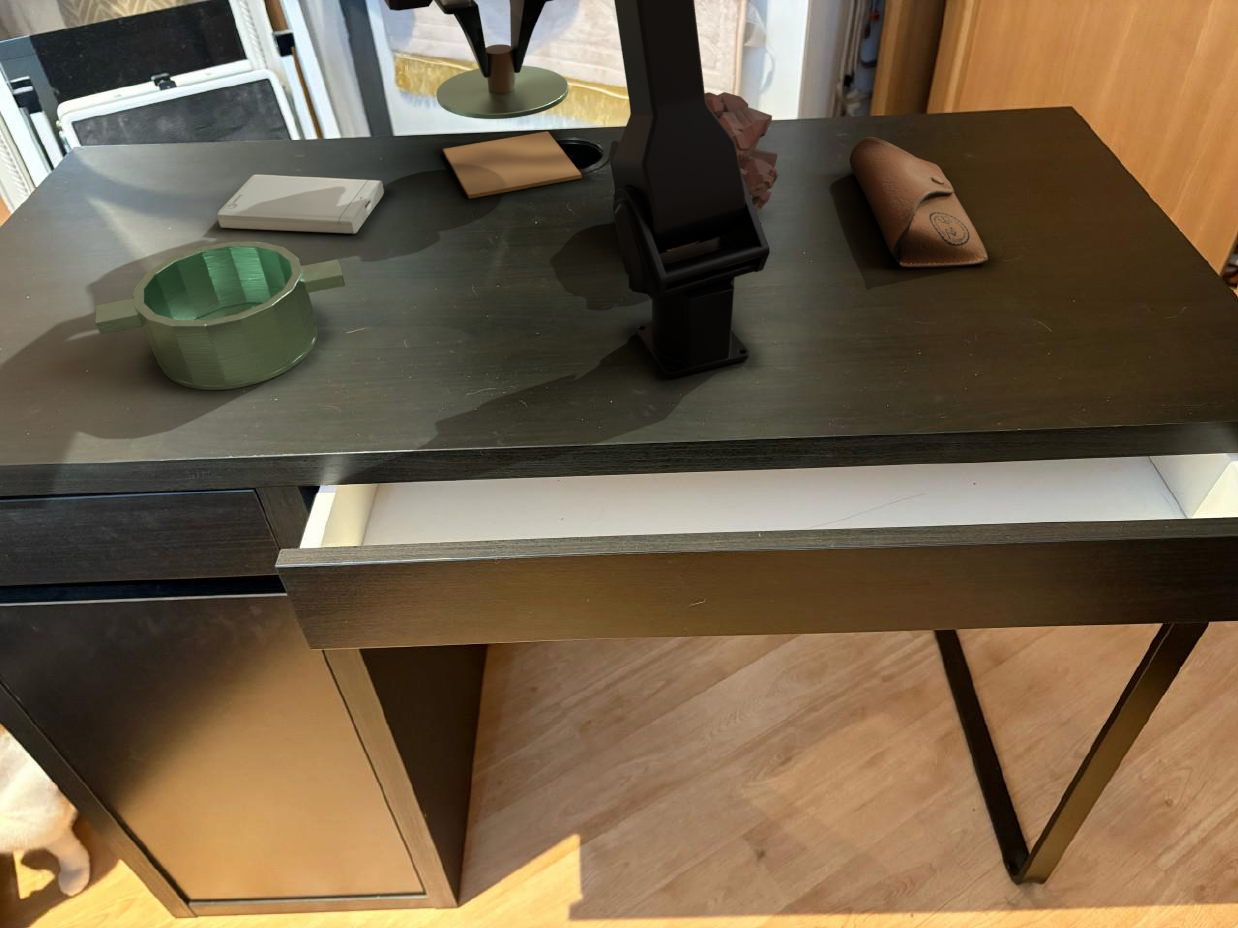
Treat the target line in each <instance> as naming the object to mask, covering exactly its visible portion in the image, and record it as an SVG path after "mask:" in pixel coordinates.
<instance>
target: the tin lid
mask: <svg viewBox="0 0 1238 928" xmlns="http://www.w3.org/2000/svg"><path fill="white" fill-rule="evenodd" d="M486 52H487V57H488V65H489V77H488V78H484V76H483V75H482V73H481V71H480V68H479V67H478V68H475V69H470V70H466V71H464V72H461V73H458V74H455V75H454V76H451V77H449V78H448V79H445V80H444V81H443V82H442V83H441V84H440V85H439V86H438V87H437V89H436V96H435V97H436V101H437V103H438V105H439V106H440V107H441V108H442V109H444V110H445V111H447V112H448V113H452V114H454V115H457V116H460V117H464V118H465V117H466V118H471V119H480V120H504V119H505V120H506V119H515V118H522V117H528V116H532V115H536V114H539V113H542V112H545V111H548V110H550V109H552V108H554V107H556V106H558V105H560V104H561V103H562V102H563V101H565V99H566V98H567V97H568V94H569V90H570V89H569V82H568V80H567V78H565V77H564V75H561V74H560V73H558V72H556V71H553V70H550V69H548V68H543V67H539V66H533V65H532V66H531V65H522V68H521V71H520V73H515V66H514V55H513V48H512V47H511V45H509V44H503V43H501V44H500V43H499V44H492V45H488V46H486Z"/></svg>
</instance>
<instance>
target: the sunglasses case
mask: <svg viewBox="0 0 1238 928" xmlns="http://www.w3.org/2000/svg"><path fill="white" fill-rule="evenodd" d="M849 165H850V169H851V171H852V173H853V175H854V177H855V178H856V180H857V182H858V184H859V186H860V188H861V189H862V191H863V193H864V194H863V195H864V196H865V198H866V200H867V203H868V205H869V207H870V209H871V211H872V214H873V216H874V218H875V220H876V222H877V224H878V227H879V229H880V232H881V235H882V236H883V239H884V242H885V244H886V246H887V248H888V250H889V252H890V254H891V255H892V257H893V258H894V259H895V261H896V262H897V263H898V265H899V266H901V267H902V268H908V269H909V268H917V269H940V268H943V269H944V268H955V267H956V268H957V267H964V266H973V265H979V264H983V263H985V262H987V261H988V259H989V257H988V254H987V250H986V248H985V245H984V244H983V242H982V240H981V237H980V236H979V234H978V232H977V230H976V227H975V225H973V223H972V221H971V219H970V217H969V216H968V214H967V212H966V210H965V209H964V207H963V206H962V204H961V201H960V200H959V199H958V197H957V196H956V193H955V189H954V188H953V186H952V183H951V182H950V181H949V180H948V178H946V176H945V174H944V172H943V171H942V169H941V168H940V167H939V166H938V164H936V163H934V162H930V161H927V160H924V159H922V158H919V157H916V156H915V155H913V154H912V153H909V152H908V151H906V150H904V149H902V148H900V147H898V146H896V145H894V144H892V143H889V142H888V141H886V140H883V139H881V138H876V137H873V136H869V137H868V136H867V137H865V138H863V139H861V140H860V141H859V142H858V143H857V144H856V145H855V146H854V147H853V149H852V150H851V153H850V157H849Z"/></svg>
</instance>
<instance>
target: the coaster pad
mask: <svg viewBox="0 0 1238 928" xmlns="http://www.w3.org/2000/svg"><path fill="white" fill-rule="evenodd" d="M442 152H443V155H444V156H445V158H446V161H448V164H449V165H450V167H451V169H452V171H453V172H454V174H455V176H456V178H457V179H458V181H459V183H460V186H461V187H462V188H463V191H464V192H465V194H466V196H467V198H468V199H469V200H470V199H476V198H483V197H486V196H492V195H497V194H503V193H508V192H514V191H519V190H524V189H525V190H526V189H531V188H535V187H541V186H546V185H552V184H558V183H563V182H568V181H569V182H570V181H574V180H579V179H582V178H583V176H582V173H581V172H580V171H579V169H578V168H577V167H576V166H575V164H574V163H573V162H572V160H571V159H570V158H569V157H568V155H567V154H566V153H565V151H564V150H563V149H562V147H561V146H560V145H559V144H558V142H557V141H556V140H555V139H554V137H553V136H552V134H551V133H549V131H548V130H547V131H541V132H536V133H530V134H524V135H517V136H512V137H511V136H510V137H506V138H502V139H501V138H500V139H495V140H494V139H493V140H488V141H482V142H476V143H471V144H464V145H459V146H453V147H446V148H443V149H442Z"/></svg>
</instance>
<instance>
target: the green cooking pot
mask: <svg viewBox="0 0 1238 928" xmlns="http://www.w3.org/2000/svg"><path fill="white" fill-rule="evenodd" d="M344 286H346V283H345V279H344V274H343V273H342V268H341V265H340V262H339V259H337V258H336V259H331V260H327V261H321V262H317V263H311V264H310V263H309V264H306V265H301V262H300V258H299V257H298V256H296V255H295V254H294V253H292V252H291V251H290V250H288V249H287V248H285V247H284V246H279V245H275V244H271V243H267V242H262V241H227V242H221V243H216V244H210V245H206V246H200V247H197V248H194V249H192V250H188V251H186V252H183V253H181V254H178V255H175V256H172V257H171V258H168V259H167V260H165V261H163V262H162V263H159V264H158V265H157V266H156V267H154V268H152V269H151V270H149V271H147V272H146V274H145V275H144V276H142V278H141V280H140V281H139V282H138V284H137V285H136V286H135V287H134V289H133V298H129V299H123V300H119V301H112V302H108V303H102V304H98V305H96V308H95V309H96V311H95V321H94V322H95V323H94V324H95V325H96V328H97V330H98V332H99V334H100V335H102V336H103V335H107V334H112V333H116V332H121V331H127V330H131V329H136V328H142V329H143V332H144V334H145V337H146V339H147V341H148V344H149V346H150V348H151V351H152V352H153V355H154V358H155V360H156V362H157V364H158V366H159V367H160V368H161V370H162V371H163V373H164V374H165V376H166V377H168V379H170V380H171V381H173V382H175V383H176V384H179V385H181V386H183V387H186V388H191V389H196V390H206V391H225V390H233V389H240V388H245V387H249V386H254V385H256V384H257V385H258V384H259V383H263V382H266V381H269V380H271V379H273V378H276V377H278V376H280V375H282V374H284V373H286V372H288V371H289V370H291V369H293V368H294V367H295V366H297V365H298V364H299V363H301V362H302V361H303V360H304V359H305V358H306V357H307V356H308V355H309V354H310V353H311V351H312V350H313V348H314V347H315V345H316V342H317V340H318V335H319V329H318V324H317V323H318V322H317V319H316V316H315V312H314V309H313V308H314V307H313V306H312V301H311V296H310V294H311V293H315V292H320V291H325V290H330V289H336V288H340V287H344Z"/></svg>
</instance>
